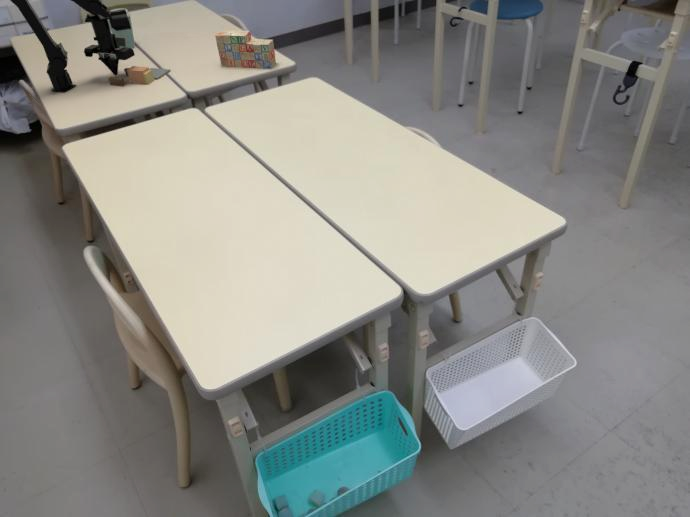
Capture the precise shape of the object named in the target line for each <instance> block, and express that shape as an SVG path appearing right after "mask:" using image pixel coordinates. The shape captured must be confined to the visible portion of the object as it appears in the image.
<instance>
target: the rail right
mask: <svg viewBox="0 0 690 517" xmlns="http://www.w3.org/2000/svg"><path fill="white" fill-rule="evenodd" d="M129 68H130V67H125V68H124V69H123V70H124V73H125V76H126V77H129V76H128V72H127V69H129Z"/></svg>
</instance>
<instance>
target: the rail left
mask: <svg viewBox="0 0 690 517" xmlns="http://www.w3.org/2000/svg"><path fill="white" fill-rule="evenodd" d="M125 79H126V78H124V77H116V76H114V77H113V76H110V77H109V78H108V81H109V84H110V86H119V87H125V86H126V85H127V83H126V80H125Z"/></svg>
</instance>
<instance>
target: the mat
mask: <svg viewBox="0 0 690 517" xmlns="http://www.w3.org/2000/svg"><path fill="white" fill-rule="evenodd" d="M149 70H152V73H153V76H154V80H157V81H158V80H160V79H161V78H163V77H164V76H166V75H167V74H168V73H170V72H172V71H171V69H169V68H167V69H166V68H156V67H149Z"/></svg>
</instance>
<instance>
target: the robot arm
mask: <svg viewBox="0 0 690 517" xmlns="http://www.w3.org/2000/svg"><path fill="white" fill-rule="evenodd" d="M9 1H10V2H11V3H12V4H14V5H15V6H16V7H17V8H18V10H19V12H20V13H21V15H22V16H23V18H24V19H25V20H26V22H27V24H28V25H29V28H30V29H31V30H32V32H33V33H34V35H35V36H36V37H37V39H38V41H39V42H40V44H41V45H42V47H43V49H44V53H45V56H46V58H47V60H48V64H47V67H46V74H47V76H48V78H49V81H50V83H51V85H52V88H51V89H50V91H52V92H60V93H66V92H68V91H69V90H71V89H73V88H74V87H76V84H75V83H74V84H73V81H72V79H71V75H70V73H69V72H68V70H67V69H66V68H67V66H68V62H69V58H68V51H67V50H65V48H64V46H63V44H62V42H59V43H57V42H56V41H55V40H54V39H53V38H52V36H51V34H50V33H49V31H48V30H47V28H46V27H45V25H44V23H43V22H42V20H41V19H40V17H39V16H38V14H37V12H36V10H35V9H34V7H33V6H32V4H31V3H30V2H29V0H9ZM70 1H71V2H73V3H75V4H76V5H77V6H79V7H80V8H81V9H83V10H84V11H86V16H85V17H84V23H90V24H91V28H92V29H93V30H92V31H93V33H94V37H93V41H95V42H97V44H91V45H89V46H86V47H84V50H83V53H84V55H85V57H88V58H89V57H90V58H93V56H94V54H96V55H98V59H97V60H98V61H101V63H103V64H104V65H105V66H106V67H107V68H108V69H109V71H110V73H112V74H113V75H114V76H117V75H118V74H119V62H120V61H127V60H129V59H131V58H132V57H135V56H136V55H135V52H134V48H126V44H125V38H116V37H115V34H112V32H111V30H110V27H109V23H108V19H109V21H110V24H111V27H112V29H113V28H114V30H116V31H120V30H128V29H131V25H130V21H129V18H128V16H127V13H126V10H125V9H126V8H123V9H121V10H117V11H111V9H109V7H107V6H106V5H105V3H103V0H70ZM87 12H88V13H87ZM120 46H123V48H121V49H120Z"/></svg>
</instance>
